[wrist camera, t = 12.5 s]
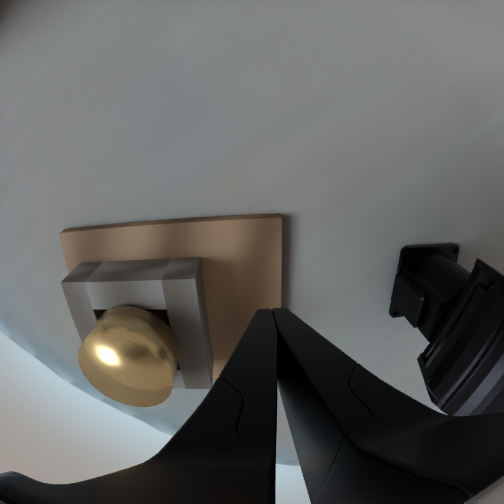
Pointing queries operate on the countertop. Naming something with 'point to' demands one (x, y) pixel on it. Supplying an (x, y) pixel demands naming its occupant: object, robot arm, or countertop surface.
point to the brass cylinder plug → (131, 355)
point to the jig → (179, 280)
